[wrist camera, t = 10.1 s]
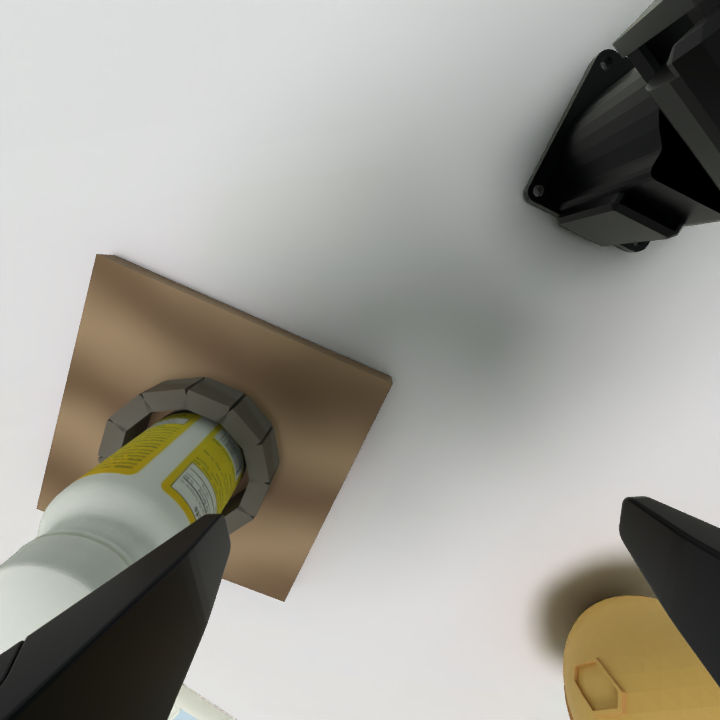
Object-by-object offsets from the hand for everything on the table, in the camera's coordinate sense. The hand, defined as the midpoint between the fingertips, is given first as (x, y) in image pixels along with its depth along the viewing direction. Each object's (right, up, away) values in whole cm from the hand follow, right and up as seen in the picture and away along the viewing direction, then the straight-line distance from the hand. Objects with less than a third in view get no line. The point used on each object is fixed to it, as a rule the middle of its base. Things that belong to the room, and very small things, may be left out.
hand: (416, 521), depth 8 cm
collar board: (-10, -1, +13) cm, 16 cm away
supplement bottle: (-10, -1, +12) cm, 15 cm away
